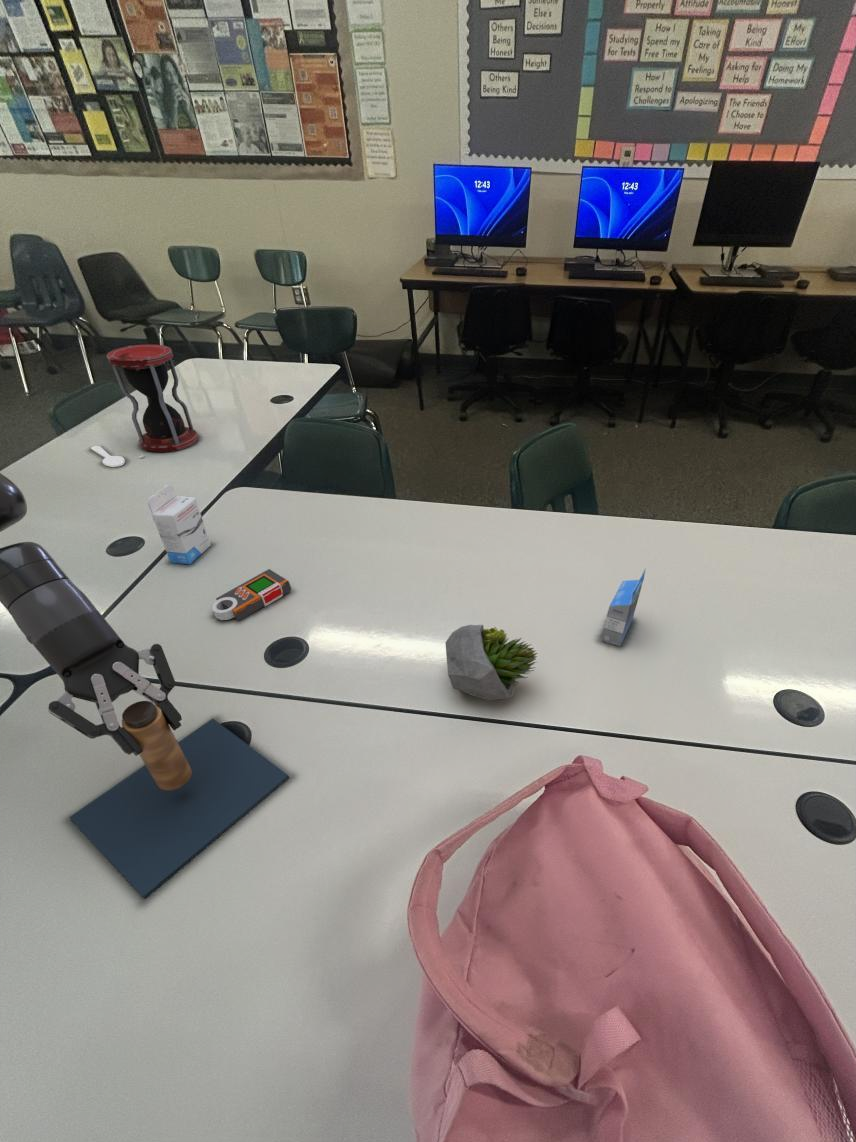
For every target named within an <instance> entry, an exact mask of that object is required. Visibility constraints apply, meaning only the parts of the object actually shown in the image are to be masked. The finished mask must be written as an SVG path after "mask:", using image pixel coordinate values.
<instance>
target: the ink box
mask: <svg viewBox="0 0 856 1142" xmlns="http://www.w3.org/2000/svg"><path fill="white" fill-rule="evenodd" d="M164 494H165V496H163V495H164ZM161 496H163V497H162V498H161V499H160V497H161ZM158 499H159V500H158ZM146 502H147V505H148V507H149V510H150V513H151V516H152V520H153V522H154V524H155V527H156V529H157V532H158V535H159V537H160V540H161V542H162V545H163V548H164V550H165V552H166V555H167V558H168V559H169V562H170V563H174V564H183V565H191V564H193V562H195V561H196V559H197V558H199V557H200V556H201V555H202V554H203V553H204V552H205V551H206V550H208V549H209V547H211V546H212V544H211V541H210V538H209V535H208V532H207V529H206V526H205V523H204V520H203V516H202V513H201V511H200V507H199V504H198V501H197V499H196V497H194V496H193V497H192V496H185V495H176V492H175V490H174V486H173V484H172V483H171V482H168V484H166V485H165V486H163V487H161V489H159V490H157V492H155V493H154V494H152V495H151V496H149V497H148V498H147V500H146Z"/></svg>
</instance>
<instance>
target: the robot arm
mask: <svg viewBox="0 0 856 1142" xmlns="http://www.w3.org/2000/svg"><path fill="white" fill-rule="evenodd" d="M27 512H28V503H27V500H26V497H25V495H24V493H23V492H22V490H21V489H20V488H19V487H18V485H16V484H15V482H13V481H12V480H11V479H9V478H8V477H7V476H5V475H4V474H2V473H1V472H0V533H2V532H3V531H5V530H6V529H8V528H10V527H12V526H13V525H15V524H17V523H18V522H19V523H20V521H21V520H23V519H24V518H25V517H26V515H27ZM0 603H1V605H2V606H3V607H4V608H5V610H6V611H8V613H9V614H10V616H11V617H12V619H13V621H14V622H15V624H16V625H17V627H18V629H19V630H20V631H21V633H22V634H23V635H24V636H25V639H26V640H27V641H28V642H29V643H30V645H33V647H34V648H35V649H36V650H37V651H38V653H39V655H41V657H43V659H44V660H45V661H46V662H47V663H48V665H49V666H50V667H51V668H52V669H53V671H54V672H55V673H56V674H57V675H58V677H59V678H60V679H61V680H62V682H63V685H64V692H63V693H62V694H61V695H60V696H59V697H58V698H56V700H53V701H51V702H50V703H48V713H49V714H51V716H54V717H55V718H57V719H58V720H60V721H62V722H63V723H64V724H66V725H68V726H69V727H71V728H73V729H74V730H76V731H77V732H79V733H80V734H82V735H83V736H85V737H87V738H89V739H91V740H92V739H96V738H100V737H102V736H109V737H111V738H112V740H113V741H114V742H115V743H116V744H117V745H118V747H119V748H120V749H121V751H123V752H124V754H127V756H129V755H131V754H133V755H134V756H135V757H137V756H140V755H139V754H140V753H142V752H143V750H142V748H141V747H140V746H139V745H138V744H137V742H136V741H135V740H134V739H133V738H132V736H131V735H130V734H129V733H128V732H127V730H126V729H125V728H124V727H122V726H120V724H119V721H118V718H117V715H116V713H115V712H116V711H115V708H114V705H113V702H114V701H116V700H117V699H118V698H119V697H120V696H123V695H125V694H128V693H130V692H131V691H133V692H135V693H136V694H137V695H139V696H142V697H144V698H145V699H147V701H150V702H152V703H153V704H154V705H157V706H158V707H159V708H160V709H161V711H162V713H163V715H164V717H165V719H166V720H167V722H168V724H169V726H170V728H171V730H172V731H176V730H177V729H179V728H180V727H182V724H181V721H182V720H183V718H182V715H181V713H180V712H179V711H178V709H176V707H175V706H174V704H173V703H172V702H171V701H170V700H169V697H168V696H169V694H170V692H172V690H173V689H174V688H175V687H176V685H177V683H176V680H175V677H174V675H173V672H172V670H171V667H170V664H169V661H168V660H167V657H166V655H165V651H164V649H163V646H162V645H161V644H159V643H153V645H152V646H149V647H147V648H143V649H139V650H136V649H134V648H133V647H130V646H128V645H127V644H126V643H125V642H124V641H123V640H122V639H121V637H120V636H119V635H118V633H117V631H115V630H114V628H113V627H112V626H111V625H110V623H109V622H108V621H107V619H105V617H104V616H103V615H102V613H101V612H100V611H99V609H97V607H96V606H95V605H94V604H93V602H92V601H91V600H90V599H89V597H88V596H87V595H86V594H85V593H84V592H83V591H82V589H80V588H79V587H78V586H77V585H75V583H74V582H73V581H72V579H70V577H68V575H67V574H66V573H65V572H64V571H63V569H62V568H61V567H60V566H59V564H58V563H57V561H56V560H55V559H54V557H52V555H51V554H50V553H49V552H48V551H47V550H46V548H44V547H43V546H42V545H41V544H39V543H37V542H34V541H21V542H17V543H12V544H9V545H5V546H3V547H0ZM140 660H143V661H144V662H145V664H146V665H148V666H153V669H154V671H155V674H156V676H157V679H158V681H159V684H160V687H157V686H155V685H154V684H152V682H151V681H149V680H148V679H147V678H146V677H145V678H144V677H143V676H142V675H141V674H140V673H139V671H140ZM73 698H75V699H79V700H84V701H87V702H91V703H95V707H96V710H97V712H98V715H99V717H100V719H101V722H102V723H100V724H97V725H96V724H95V723H93V722H92V721H90V720H88V719H87V718H85V717H84V716H82V715H81V714H80V713H78V712H76V710H75V709H76V704H75V703H74V702H73V700H72V699H73Z"/></svg>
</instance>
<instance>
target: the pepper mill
mask: <svg viewBox="0 0 856 1142" xmlns="http://www.w3.org/2000/svg"><path fill="white" fill-rule="evenodd" d="M121 718H122V719H121V728H122V727H124V728H125V729H126V730H127V732H128V733H129V734H130V735H131V736H132V738H133V739H134V740H135V741H136V742H137V744H138V745H139V746H140V747H141V748H142V750H143V752H142V753H140V754H139V755H138V756H139V757H140V759H141V760H142V762H143V764H144V766H145V765H146V767H147V769H148V770H149V772H150V774H151V775H152V777H153V779H154V780H155V782H156V784H157V785H158V787H159V788H160V789H162V790H175V789H177V788H180V787H181V786H183V785H184V784H186V783H187V782H188V780H189V779H190V777H191V775H192V769H191V767H190V765H189V763H188V761H187V759H186V757H185V756H184V754H183V752H182V750H181V748H180V746H179V744H178V742H179V741H178V740H177V738H176V736H175V734H174V732H173V729H172V728H171V727H170V725H169V724H168V722H167V720H166V719H165V717H164V715H163V713H162V711H161V709H160V708H159V707H158V706H157V705H155V703H153V702H152V701H150V700H140V701H136V702H134V703H132V704H129V706H127V707H126V708H125V709H124V710H123V711H122V715H121Z"/></svg>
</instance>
